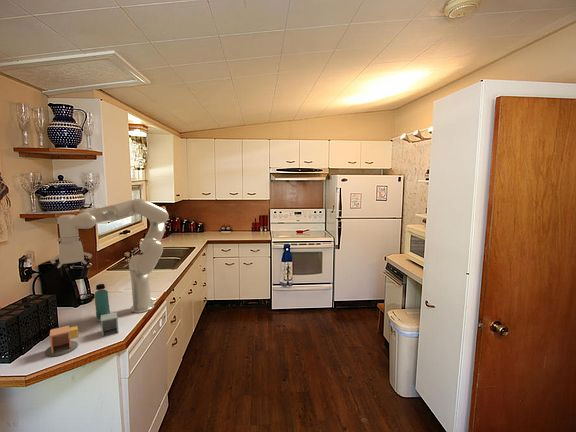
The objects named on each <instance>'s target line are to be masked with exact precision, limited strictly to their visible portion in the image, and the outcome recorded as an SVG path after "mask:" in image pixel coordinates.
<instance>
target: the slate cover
mask: <svg viewBox="0 0 576 432" xmlns="http://www.w3.org/2000/svg"><path fill="white" fill-rule="evenodd" d="M118 322H119V321H118V312H112V313H111V312H110V314H105V315H101V320H100V326H101V328H100V329H101V336H102V337H104V331H109V330H113V329H116V333H117V334H119V323H118Z"/></svg>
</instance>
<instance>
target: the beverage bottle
mask: <svg viewBox="0 0 576 432" xmlns="http://www.w3.org/2000/svg"><path fill="white" fill-rule="evenodd" d="M95 285H96V286H95V290H96V291H95V292H94V303H95V304H94V305H95V317H96V320H97V321H101V315H105V314H110V313H111V311H110V301H109V291H108V290H107V289H106V285H105V284H104V283H98V284H95Z"/></svg>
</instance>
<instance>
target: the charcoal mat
mask: <svg viewBox="0 0 576 432" xmlns="http://www.w3.org/2000/svg"><path fill="white" fill-rule="evenodd" d="M78 346H79V343H78V341H75V340H71V349H70V347H69V343H67V344H63V345H59V346H55V347H54V353H52V351H51V345H50V346H48V347H47V348H46V349H45V351H44V355H45V356H46V357H50V358H51V357H52V358H55V357H60V356H64V355H68V354H70V353H72V352H73V351H75V350H76V349H77V348H78Z"/></svg>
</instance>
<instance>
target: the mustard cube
mask: <svg viewBox="0 0 576 432" xmlns="http://www.w3.org/2000/svg"><path fill="white" fill-rule="evenodd" d="M69 327H70V326H69ZM70 337H71V339H74V338H78V337H79V329H78V325H76V326H71V327H70Z"/></svg>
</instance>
